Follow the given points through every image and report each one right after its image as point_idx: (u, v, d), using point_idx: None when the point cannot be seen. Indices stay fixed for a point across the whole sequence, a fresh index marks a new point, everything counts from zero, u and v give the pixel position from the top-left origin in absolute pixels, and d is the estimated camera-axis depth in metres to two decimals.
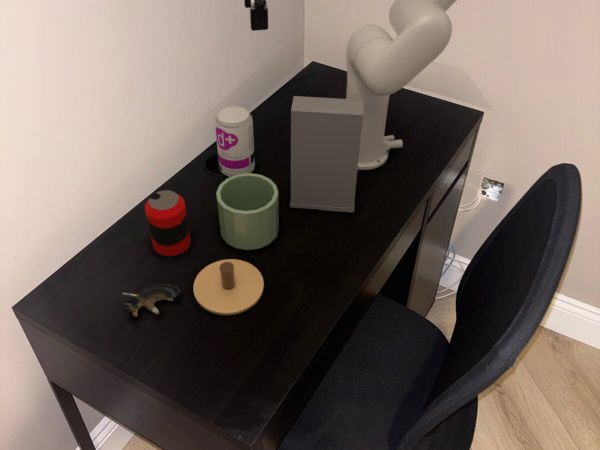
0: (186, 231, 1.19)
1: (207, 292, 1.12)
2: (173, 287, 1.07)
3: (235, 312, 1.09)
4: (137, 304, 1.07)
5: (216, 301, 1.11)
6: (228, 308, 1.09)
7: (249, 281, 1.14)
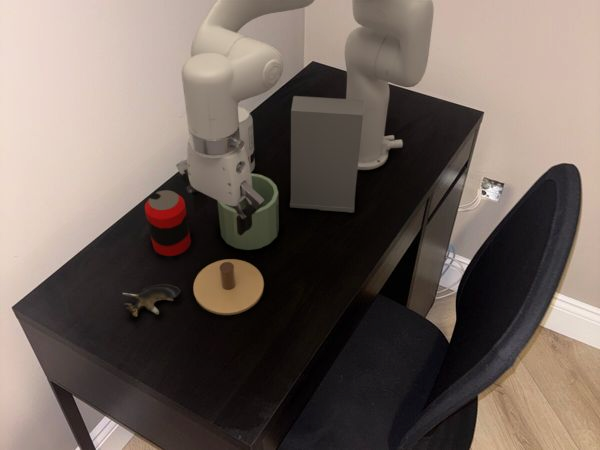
0: (186, 231, 1.19)
1: (207, 292, 1.12)
2: (173, 287, 1.07)
3: (235, 312, 1.09)
4: (137, 304, 1.07)
5: (216, 301, 1.11)
6: (228, 308, 1.09)
7: (249, 281, 1.14)
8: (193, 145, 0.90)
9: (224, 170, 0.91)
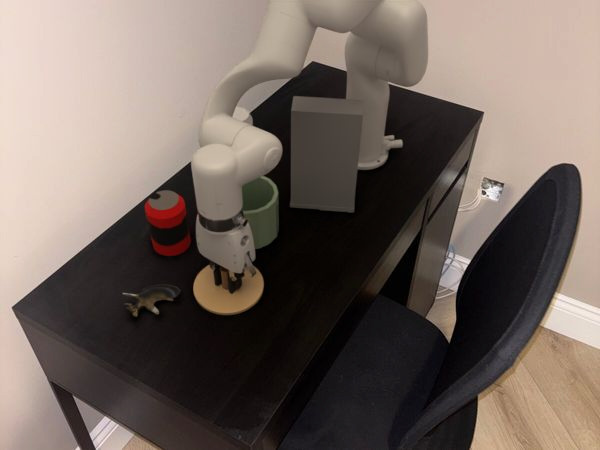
0: (186, 231, 1.19)
1: (207, 292, 1.12)
2: (173, 287, 1.07)
3: (235, 312, 1.09)
4: (137, 304, 1.07)
5: (216, 301, 1.11)
6: (228, 308, 1.09)
7: (249, 281, 1.14)
8: (202, 223, 0.99)
9: (230, 244, 1.01)
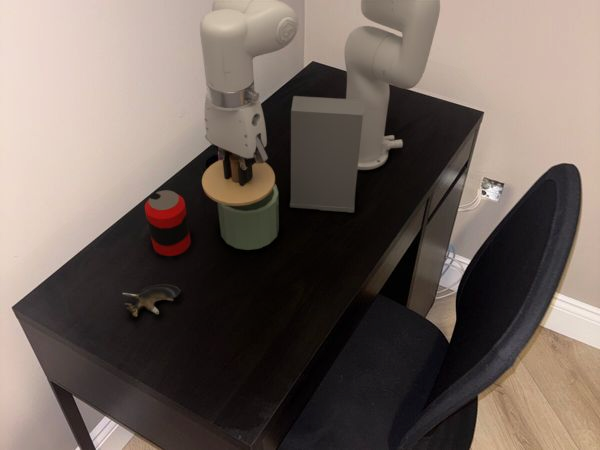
0: (186, 231, 1.19)
1: (216, 185, 1.08)
2: (173, 287, 1.07)
3: (246, 203, 1.05)
4: (137, 304, 1.07)
5: (226, 193, 1.06)
6: (239, 199, 1.05)
7: (260, 175, 1.10)
8: (211, 99, 0.95)
9: (241, 122, 0.96)
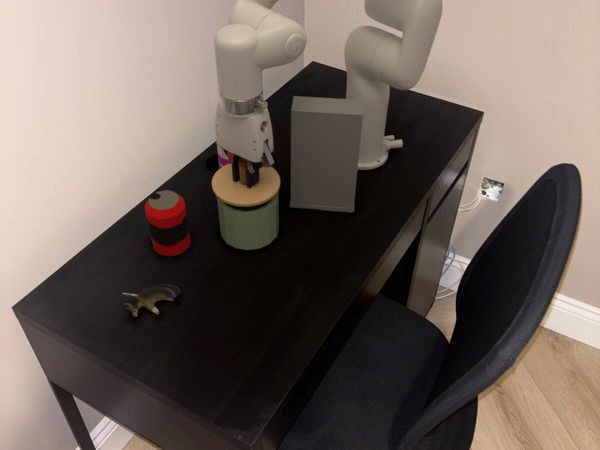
0: (186, 231, 1.19)
1: (225, 187, 1.15)
2: (173, 287, 1.07)
3: (253, 204, 1.12)
4: (137, 304, 1.07)
5: (234, 194, 1.14)
6: (246, 200, 1.12)
7: (266, 178, 1.17)
8: (223, 106, 1.02)
9: (250, 128, 1.04)
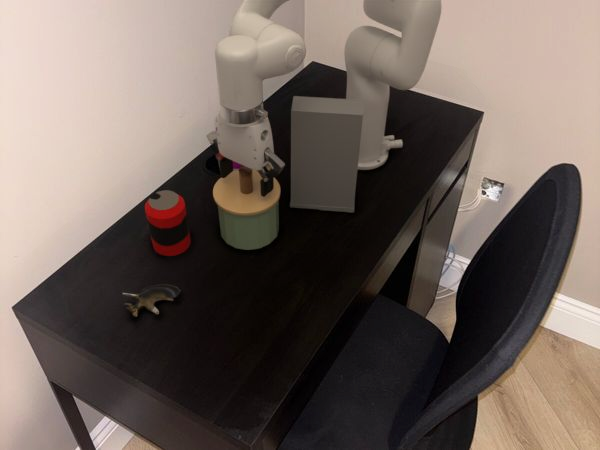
0: (186, 231, 1.19)
1: (226, 196, 1.17)
2: (173, 287, 1.07)
3: (254, 212, 1.14)
4: (137, 304, 1.07)
5: (235, 203, 1.15)
6: (247, 209, 1.14)
7: None
8: (224, 116, 1.03)
9: (251, 137, 1.05)
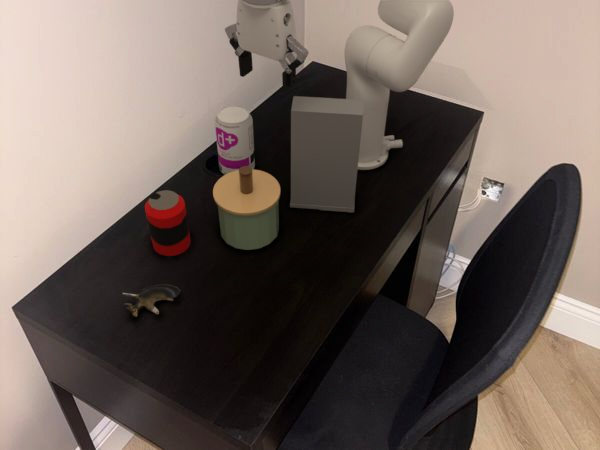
0: (186, 231, 1.19)
1: (226, 196, 1.17)
2: (173, 287, 1.07)
3: (254, 212, 1.14)
4: (137, 304, 1.07)
5: (235, 203, 1.15)
6: (247, 209, 1.14)
7: (266, 187, 1.19)
8: None
9: (273, 21, 1.00)
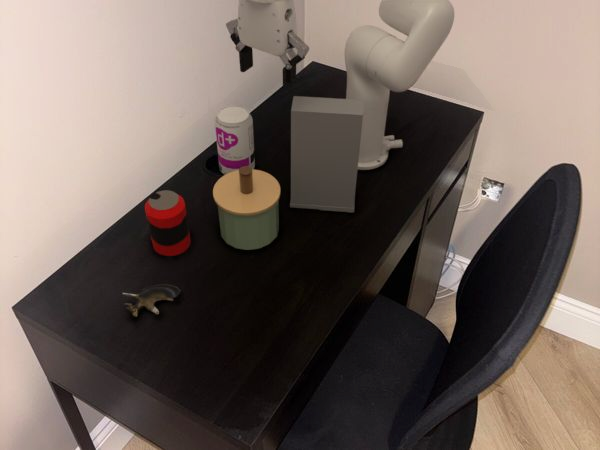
0: (186, 231, 1.19)
1: (226, 196, 1.17)
2: (173, 287, 1.07)
3: (254, 212, 1.14)
4: (137, 304, 1.07)
5: (235, 203, 1.15)
6: (247, 209, 1.14)
7: (266, 187, 1.19)
8: None
9: (274, 16, 1.00)
